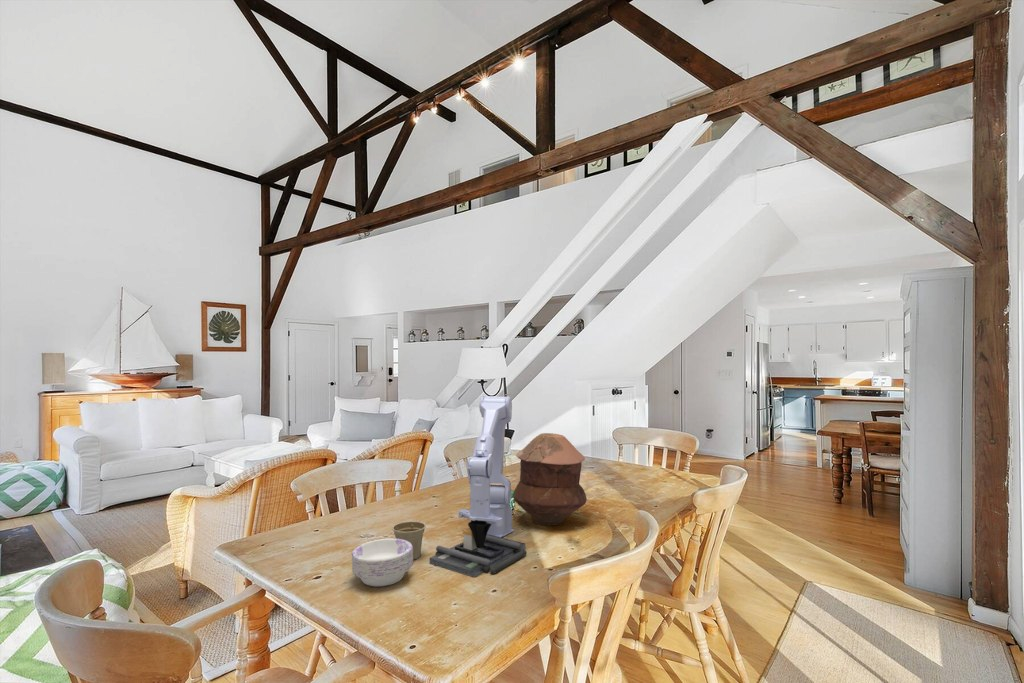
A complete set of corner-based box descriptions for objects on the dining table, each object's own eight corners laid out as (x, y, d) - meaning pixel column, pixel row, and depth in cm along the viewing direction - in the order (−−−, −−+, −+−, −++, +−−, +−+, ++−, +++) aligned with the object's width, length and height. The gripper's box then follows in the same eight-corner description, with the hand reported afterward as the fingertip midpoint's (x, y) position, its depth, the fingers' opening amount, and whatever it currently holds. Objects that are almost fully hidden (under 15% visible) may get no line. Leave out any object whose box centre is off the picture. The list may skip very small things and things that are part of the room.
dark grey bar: (471, 540, 158) (471, 529, 158) (521, 553, 147) (521, 542, 147) (467, 541, 156) (467, 531, 156) (517, 555, 145) (517, 544, 145)
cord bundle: (469, 540, 157) (469, 530, 157) (526, 555, 145) (526, 544, 145) (434, 557, 144) (434, 546, 144) (493, 575, 132) (493, 563, 132)
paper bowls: (343, 576, 132) (343, 545, 132) (397, 562, 141) (397, 533, 141) (365, 599, 119) (365, 564, 120) (423, 581, 129) (423, 550, 129)
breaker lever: (470, 544, 149) (470, 527, 149) (478, 547, 147) (478, 529, 148) (463, 548, 147) (463, 530, 147) (471, 550, 145) (471, 532, 145)
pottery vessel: (501, 514, 183) (501, 431, 184) (563, 506, 193) (563, 427, 194) (532, 538, 159) (532, 442, 160) (601, 527, 169) (600, 437, 170)
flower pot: (390, 553, 147) (390, 523, 147) (422, 548, 150) (422, 519, 151) (394, 565, 138) (394, 533, 139) (428, 560, 142) (428, 529, 142)
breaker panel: (483, 537, 160) (483, 530, 160) (525, 548, 151) (525, 541, 151) (429, 563, 140) (429, 555, 140) (474, 577, 131) (474, 569, 131)
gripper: (451, 498, 146) (451, 545, 146) (491, 506, 138) (492, 556, 138) (467, 492, 152) (467, 538, 152) (506, 500, 144) (506, 548, 144)
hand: (480, 546), depth 145 cm, fingers closed
